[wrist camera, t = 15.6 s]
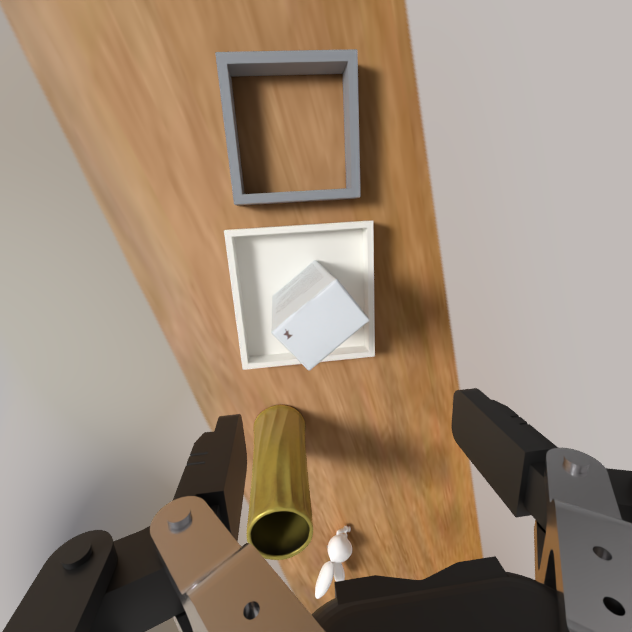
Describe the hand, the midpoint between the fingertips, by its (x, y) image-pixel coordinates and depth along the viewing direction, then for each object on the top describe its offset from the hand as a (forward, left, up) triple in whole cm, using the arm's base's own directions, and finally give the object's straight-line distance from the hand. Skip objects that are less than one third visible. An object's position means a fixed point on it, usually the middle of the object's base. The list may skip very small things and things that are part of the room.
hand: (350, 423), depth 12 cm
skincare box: (0, 0, -24) cm, 24 cm away
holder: (-15, 0, -24) cm, 28 cm away
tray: (0, 0, -24) cm, 24 cm away
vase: (+16, -4, -24) cm, 29 cm away
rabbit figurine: (+36, +1, -24) cm, 43 cm away
